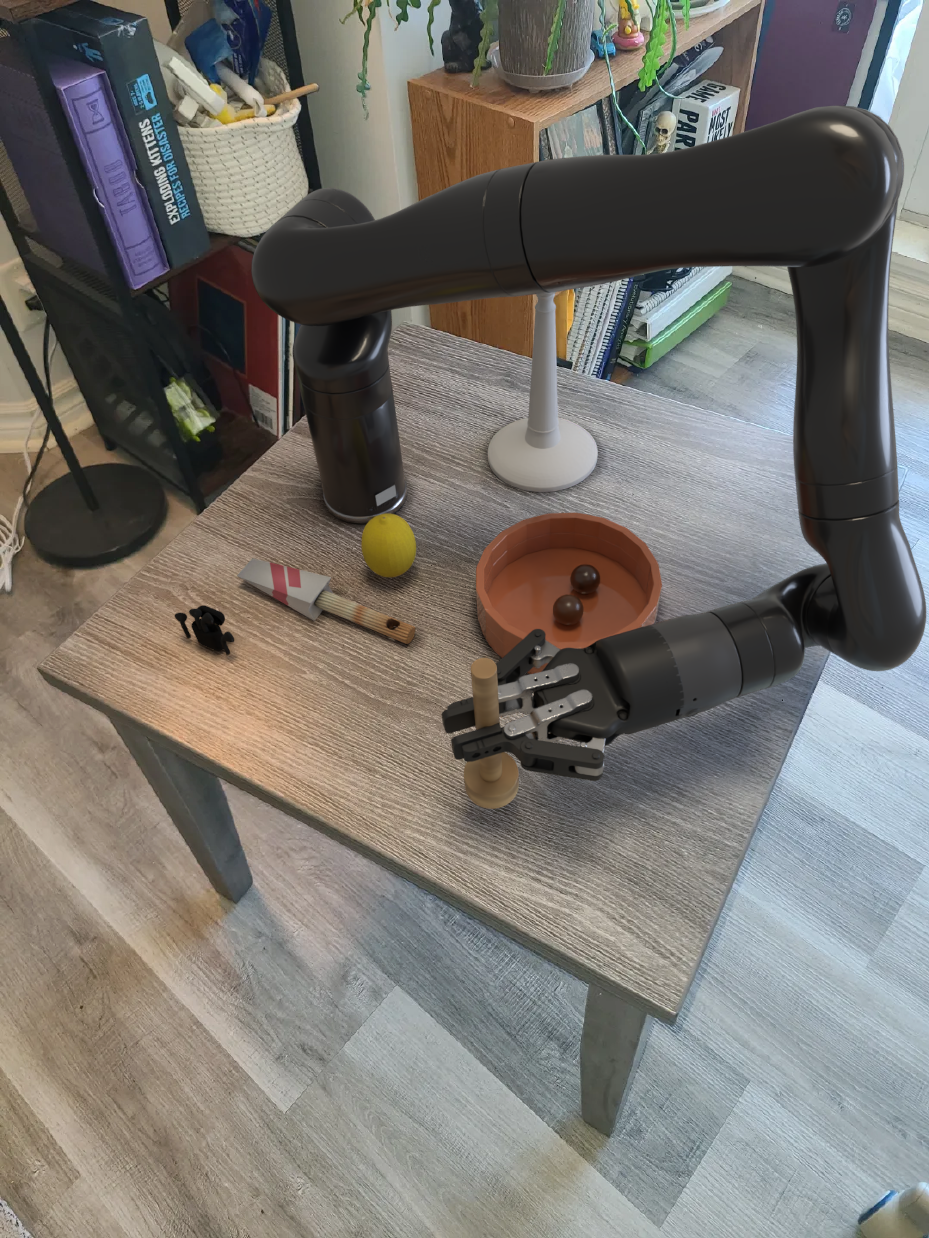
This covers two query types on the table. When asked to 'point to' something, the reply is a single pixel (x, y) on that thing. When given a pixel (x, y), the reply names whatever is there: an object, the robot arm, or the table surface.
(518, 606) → the bowl
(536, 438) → the candlestick
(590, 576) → the bead
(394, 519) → the lemon
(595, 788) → the table surface
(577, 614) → the bead
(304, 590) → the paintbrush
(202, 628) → the wireless earbuds
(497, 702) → the wooden peg stand
